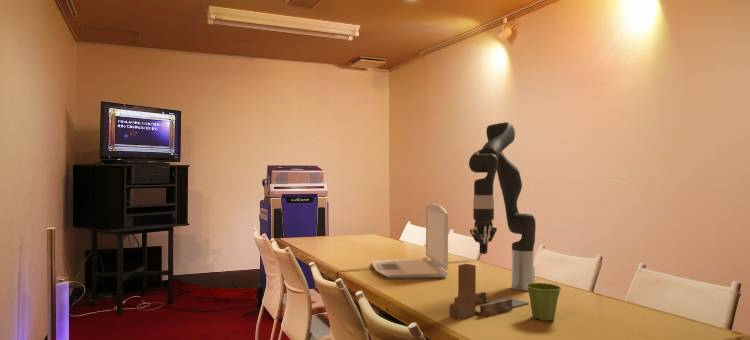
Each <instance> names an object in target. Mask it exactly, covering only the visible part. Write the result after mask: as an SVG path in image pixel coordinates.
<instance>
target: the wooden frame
mask: <svg viewBox="0 0 750 340" xmlns="http://www.w3.org/2000/svg"><path fill="white" fill-rule="evenodd" d="M457 297H458V296H457ZM457 297H454V302H455V301H456V300H457ZM508 298H509V299H504V300H500V301H495V302H492V301H490V300H488V299H487V292H484V291H482V292H477V293H476V304H475V306H479V310H477V309H475V316H478V315H479V316H478V317H481V316H482V318H486V316H487V317H490V315H491V316H494V315H498V314H502V313H506V312H510V311H513V308H512V299H513V298H512V299H510V298H511V297H508Z"/></svg>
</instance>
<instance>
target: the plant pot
mask: <svg viewBox="0 0 750 340" xmlns="http://www.w3.org/2000/svg"><path fill="white" fill-rule="evenodd" d="M526 287H527V288H528V295H529V301H530V302H529V303H530V307H531V315H532V318H534V319H535V320H536V319H537V320H539V321H544V322H545V321H547V322H548V321H553V320H555V317H556V309H557V304H558V300H559V299H558V298H559V296H560V292H561V290H562V287H561V286H559V285H557V284H551V283H545V282H535V283H529V284H526Z"/></svg>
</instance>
